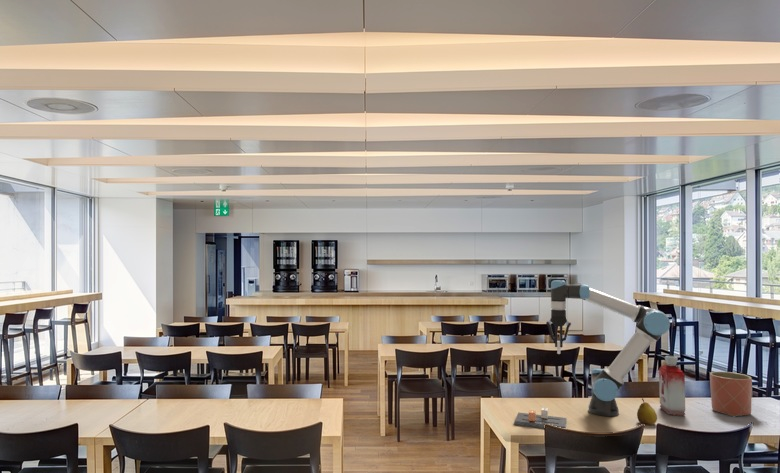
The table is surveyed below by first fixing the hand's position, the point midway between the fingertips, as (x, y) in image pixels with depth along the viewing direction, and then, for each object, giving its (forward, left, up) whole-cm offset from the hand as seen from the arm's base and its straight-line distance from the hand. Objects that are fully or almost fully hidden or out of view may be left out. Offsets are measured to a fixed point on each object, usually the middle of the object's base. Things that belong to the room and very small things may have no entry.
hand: (558, 353), depth 270 cm
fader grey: (+6, +15, -30) cm, 34 cm away
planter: (-87, -41, -33) cm, 102 cm away
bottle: (-57, -29, -33) cm, 72 cm away
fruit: (-42, -2, -33) cm, 53 cm away
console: (+8, +19, -32) cm, 38 cm away
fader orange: (+12, +22, -30) cm, 39 cm away
